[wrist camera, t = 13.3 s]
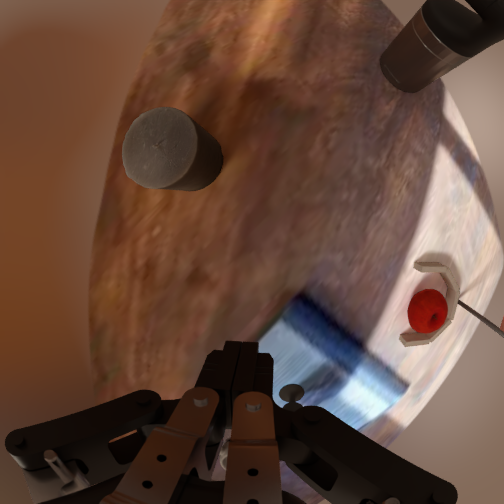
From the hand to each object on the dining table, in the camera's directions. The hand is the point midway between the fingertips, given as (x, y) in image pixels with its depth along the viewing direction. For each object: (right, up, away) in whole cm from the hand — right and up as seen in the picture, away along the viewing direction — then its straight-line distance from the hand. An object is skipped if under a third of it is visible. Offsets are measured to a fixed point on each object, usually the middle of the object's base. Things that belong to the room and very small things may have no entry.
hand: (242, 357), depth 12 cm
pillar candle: (-9, +19, +28) cm, 35 cm away
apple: (+31, -4, +30) cm, 43 cm away
